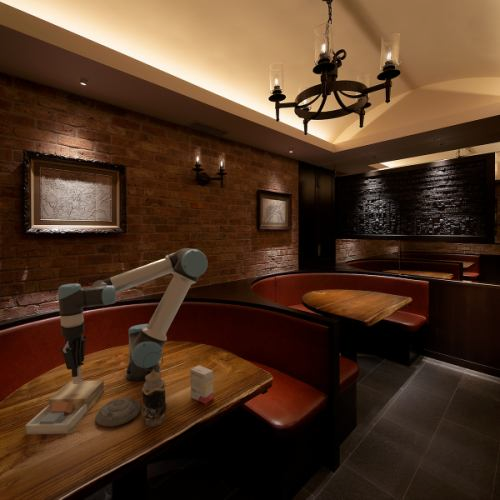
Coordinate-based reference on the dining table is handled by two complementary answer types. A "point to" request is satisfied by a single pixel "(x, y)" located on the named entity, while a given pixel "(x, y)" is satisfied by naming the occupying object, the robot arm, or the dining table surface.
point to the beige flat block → (79, 393)
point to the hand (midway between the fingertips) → (77, 382)
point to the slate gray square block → (52, 418)
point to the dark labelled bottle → (153, 398)
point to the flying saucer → (118, 412)
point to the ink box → (201, 384)
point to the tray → (58, 428)
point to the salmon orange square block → (62, 407)
